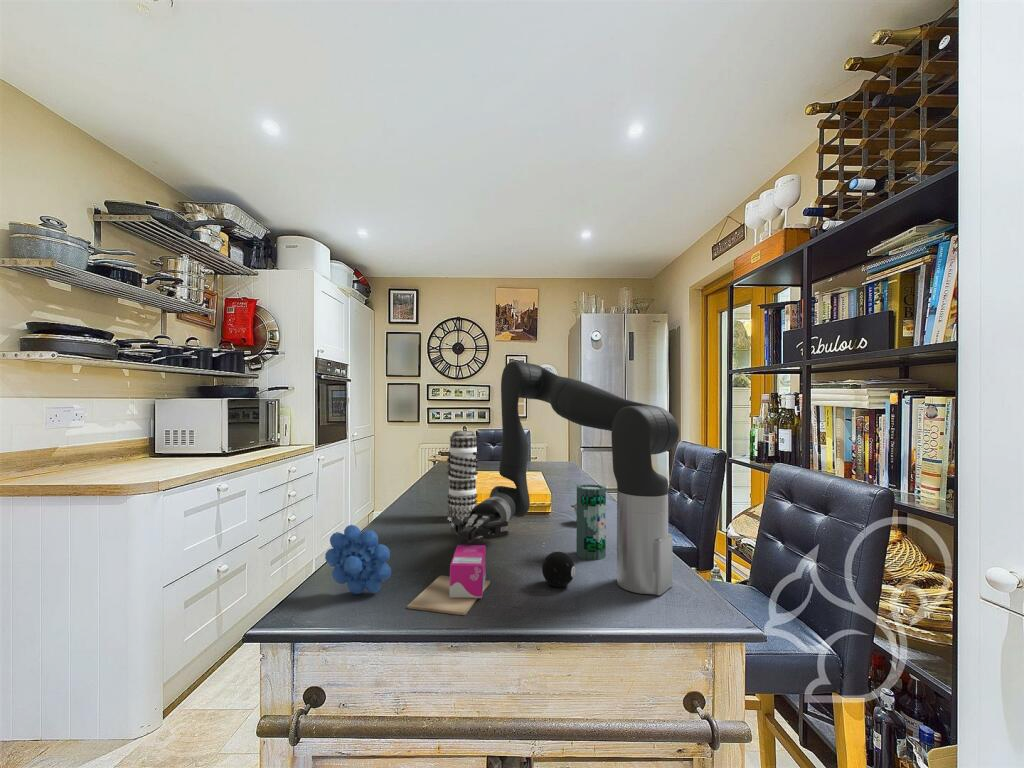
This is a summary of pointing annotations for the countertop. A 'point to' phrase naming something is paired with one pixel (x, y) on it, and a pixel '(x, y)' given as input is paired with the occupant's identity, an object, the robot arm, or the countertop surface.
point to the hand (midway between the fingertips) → (465, 537)
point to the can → (591, 522)
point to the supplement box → (468, 571)
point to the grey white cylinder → (462, 474)
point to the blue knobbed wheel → (358, 560)
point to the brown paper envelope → (442, 598)
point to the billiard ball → (558, 569)
